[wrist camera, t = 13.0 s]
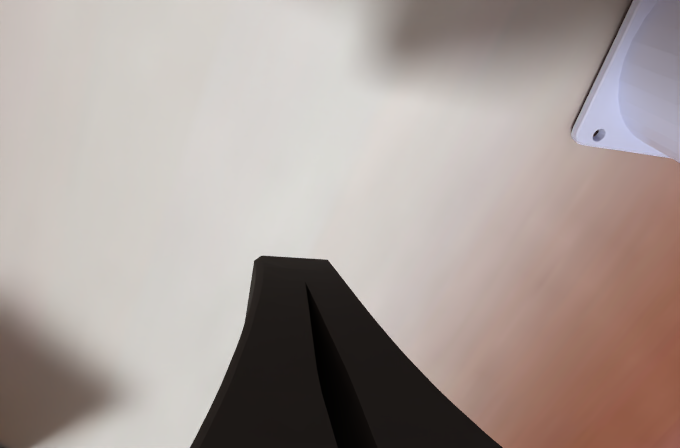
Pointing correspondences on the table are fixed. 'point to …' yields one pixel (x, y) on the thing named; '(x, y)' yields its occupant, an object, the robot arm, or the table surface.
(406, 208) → the table surface
